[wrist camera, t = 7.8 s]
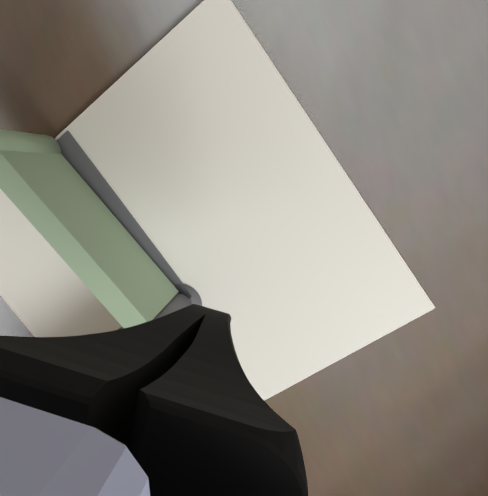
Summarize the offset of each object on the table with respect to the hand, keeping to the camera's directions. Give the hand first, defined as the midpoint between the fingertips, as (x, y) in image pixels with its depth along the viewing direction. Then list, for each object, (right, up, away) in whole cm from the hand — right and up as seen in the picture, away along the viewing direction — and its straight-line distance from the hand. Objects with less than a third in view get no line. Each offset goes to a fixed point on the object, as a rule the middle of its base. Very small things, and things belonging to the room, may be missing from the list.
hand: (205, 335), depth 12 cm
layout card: (-3, +2, +10) cm, 10 cm away
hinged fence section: (-6, +4, +9) cm, 11 cm away
